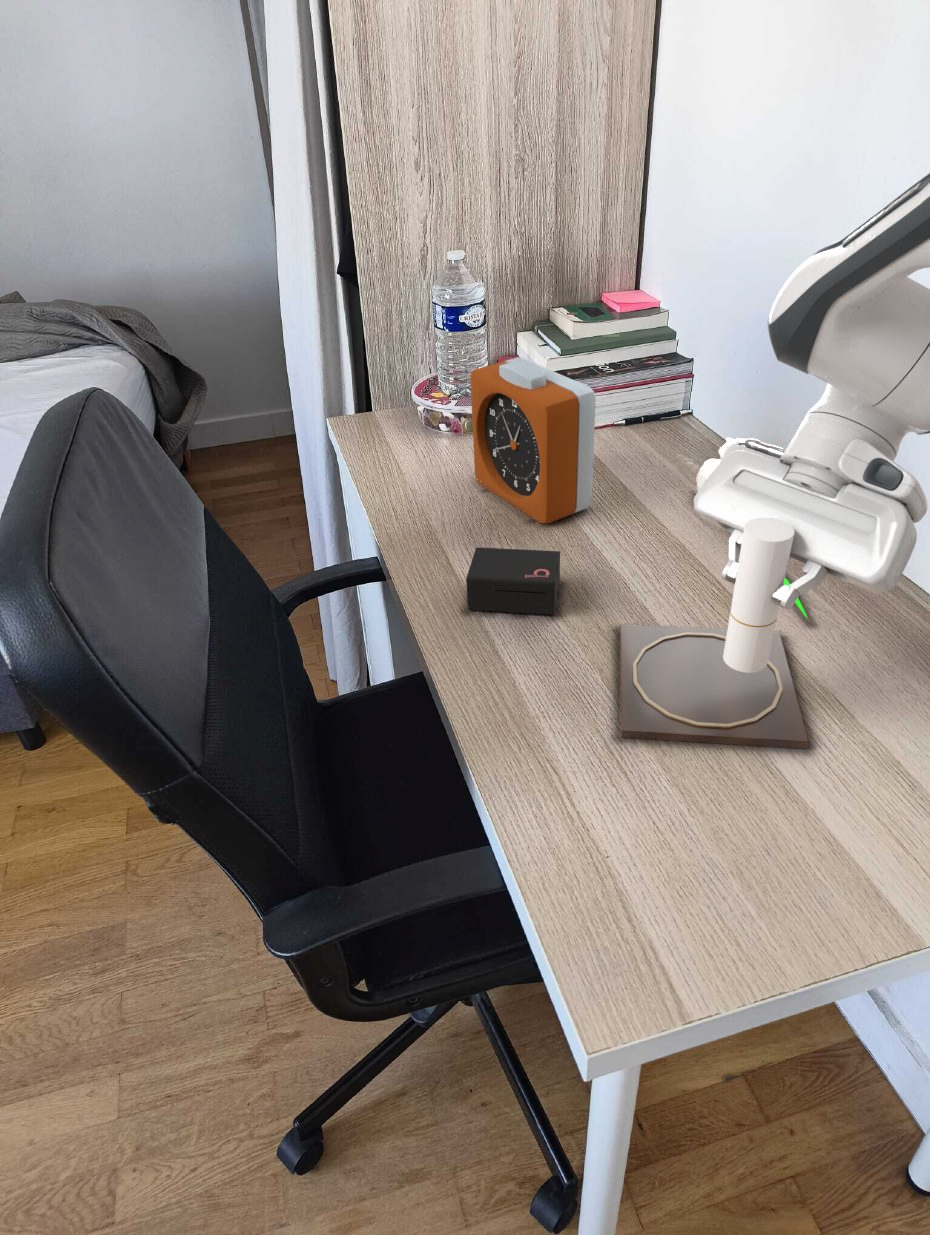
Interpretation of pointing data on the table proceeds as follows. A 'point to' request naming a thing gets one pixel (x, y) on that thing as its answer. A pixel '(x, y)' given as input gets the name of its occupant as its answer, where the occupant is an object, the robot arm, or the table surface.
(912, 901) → the table surface
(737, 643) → the tube
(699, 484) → the white tied bag
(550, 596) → the electronic device
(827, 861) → the table surface
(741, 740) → the board
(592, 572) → the table surface
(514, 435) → the alarm clock
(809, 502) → the robot arm
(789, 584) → the leaf
